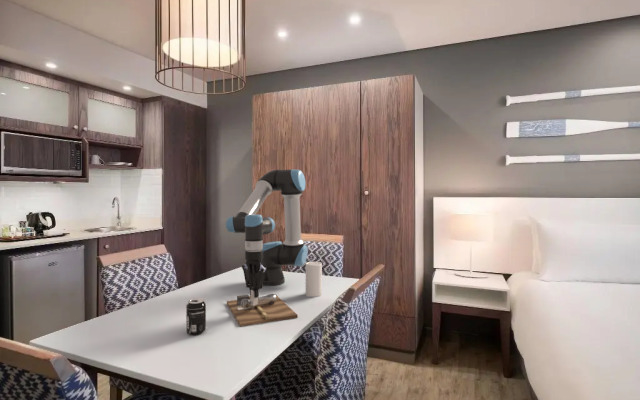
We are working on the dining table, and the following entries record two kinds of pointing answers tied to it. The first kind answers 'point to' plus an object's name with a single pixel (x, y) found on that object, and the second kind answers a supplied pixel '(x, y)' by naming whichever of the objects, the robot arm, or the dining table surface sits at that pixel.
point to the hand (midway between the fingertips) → (254, 304)
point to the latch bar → (259, 300)
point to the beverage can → (196, 316)
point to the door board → (260, 311)
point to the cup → (313, 279)
